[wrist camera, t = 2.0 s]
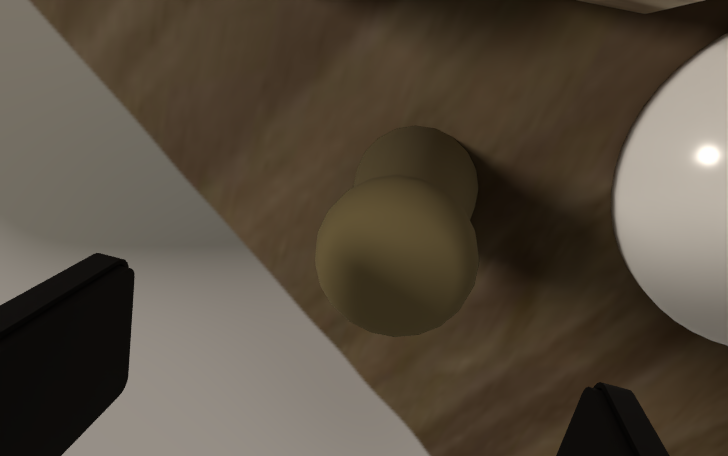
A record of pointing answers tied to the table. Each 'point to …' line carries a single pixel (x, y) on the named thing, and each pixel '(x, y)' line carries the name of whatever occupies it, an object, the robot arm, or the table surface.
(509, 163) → the table surface
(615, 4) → the beech block
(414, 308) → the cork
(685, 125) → the plate
